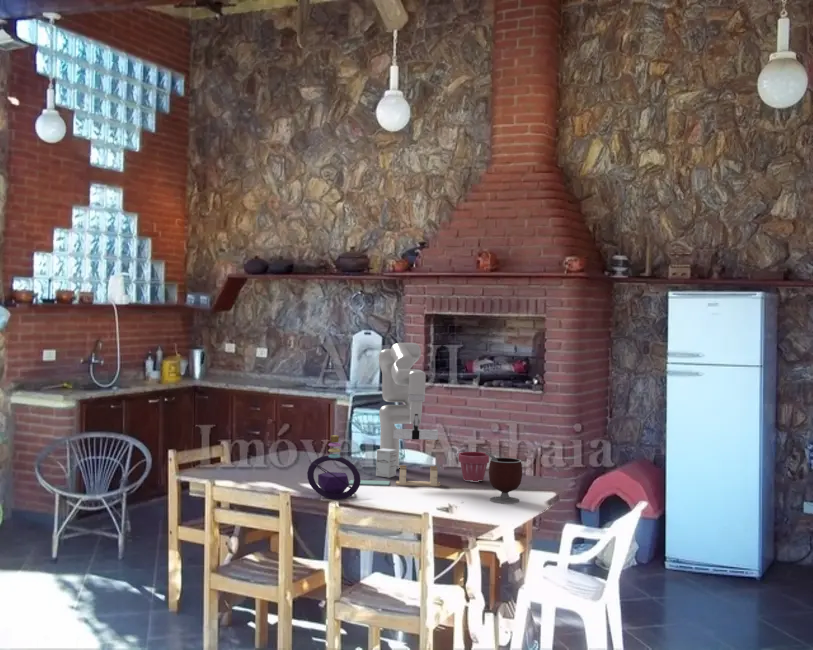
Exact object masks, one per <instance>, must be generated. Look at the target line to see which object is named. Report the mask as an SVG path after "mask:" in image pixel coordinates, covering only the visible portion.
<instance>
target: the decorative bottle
mask: <svg viewBox="0 0 813 650" xmlns="http://www.w3.org/2000/svg"><path fill="white" fill-rule="evenodd" d="M339 439H340V435H338V434H335V435H334V434H333V435H330V442H329V443H328V444H327V445H328V446H329V447H331V448H329V449H328V450H327V452H329V453H330V454H329V455H324V456H322V455H321V456H320V457H318V458H315V459H314V460H313V461H312V462H311V463H310V465H309V466H308V469H307V480H308V484H309V485H310V486H311V488H312V490H314V491H315V493H317V494H318V495H320V496H322V497H324V498H327V499H330V500H343V499H347V498H350V497H352V496H353V495H354V494H355V493H357V491H358V490H359V488H360V486H361V485H360V480H361V474H360V472H359V469H357V467H356V466H355V464H354V463H352V462H351V461H350V460H349V459H347V458H344V457H342V456H341V455H340V454H338V453H341V452H342V451H341V449H340V448H336V447H341V446H342V444H341V443H340V442H339ZM333 447H334V448H333ZM329 461H333V462H334V461H336V462H339V463H341V464H343V465H345V466H346V467H347V468H349V471H351V473H352V474H353V480H354V483H353V485H352V486H351V485H349V482H350V481H349V478H348V475H347V472H342V471H343V470H342V471H341V472H334V471H328V470H327V469H325V468H324V467H322V466H321V465H320V464H321V463H324V462H329ZM317 468H318V469H320V470H321V471H322V473H319V474H318V475H317V477H318V478H317V483H316V480H315V475H314V474H315V470H316V469H317ZM345 471H347V469H346V470H345ZM347 488H349V489H347Z"/></svg>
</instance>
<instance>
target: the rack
mask: <svg viewBox="0 0 813 650" xmlns="http://www.w3.org/2000/svg"><path fill="white" fill-rule="evenodd" d="M399 465H400V469H399V478H398V479H399V480H396V481H395V485H396V486H413V487H414V486H415V487H417V486H418V487H419V486H420V487H421V486H422V487H424V486H426V487H441V482H440V481H438V466H437V465H435V466H434V465H432V466H431V465H430V467H429V468H430V469H429V470H430V473H429V481H419V480H418V481H416V480H415V481H412V480H407V465H403V464H402V465H401V464H399Z"/></svg>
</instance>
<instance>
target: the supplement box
mask: <svg viewBox="0 0 813 650" xmlns="http://www.w3.org/2000/svg"><path fill="white" fill-rule="evenodd" d="M396 457H397V450H394V449H385V448H383V449H380V448H379V449H377V450H376V465H375V477H382V478H388V479H389V478H390V479H391V478H393V477H395V476H397V474H396V473H397V469H396Z"/></svg>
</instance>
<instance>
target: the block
mask: <svg viewBox="0 0 813 650" xmlns="http://www.w3.org/2000/svg"><path fill="white" fill-rule="evenodd" d="M412 430H413V428H397V429H394V435H393V439H399V440H413V439H412ZM418 440H430V441H431V440H433V441H437V440H439V429H425V428H424V429H421V428H419V439H418Z"/></svg>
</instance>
